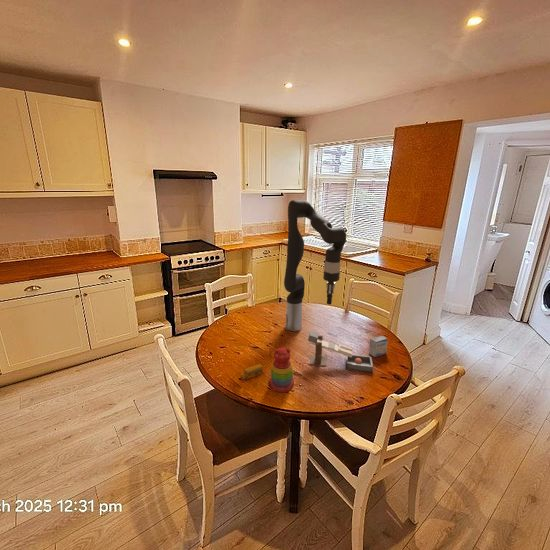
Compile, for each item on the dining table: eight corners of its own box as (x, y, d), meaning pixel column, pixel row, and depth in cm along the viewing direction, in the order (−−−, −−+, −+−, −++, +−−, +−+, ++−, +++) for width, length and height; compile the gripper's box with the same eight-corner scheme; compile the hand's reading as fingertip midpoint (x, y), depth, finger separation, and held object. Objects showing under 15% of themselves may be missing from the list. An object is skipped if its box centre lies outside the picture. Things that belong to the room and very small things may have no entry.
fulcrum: (309, 364, 143) (310, 342, 140) (310, 355, 151) (311, 334, 147) (326, 366, 141) (327, 343, 138) (327, 357, 149) (328, 335, 146)
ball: (360, 367, 140) (354, 365, 141) (360, 363, 143) (353, 361, 144) (362, 361, 139) (356, 359, 140) (362, 357, 142) (355, 355, 143)
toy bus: (240, 377, 134) (240, 370, 133) (259, 370, 139) (259, 363, 138) (243, 381, 131) (243, 373, 130) (262, 373, 137) (262, 366, 135)
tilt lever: (307, 342, 141) (309, 335, 140) (308, 337, 147) (310, 330, 145) (351, 357, 139) (354, 350, 137) (351, 351, 144) (353, 344, 143)
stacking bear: (293, 377, 133) (293, 342, 128) (295, 392, 124) (296, 354, 119) (269, 378, 133) (268, 342, 128) (269, 393, 123) (269, 355, 118)
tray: (345, 369, 139) (346, 363, 138) (345, 359, 148) (345, 353, 147) (372, 372, 137) (373, 366, 136) (370, 361, 145) (371, 356, 144)
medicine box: (374, 357, 149) (376, 342, 146) (368, 353, 153) (369, 338, 150) (386, 353, 152) (388, 338, 150) (379, 349, 156) (381, 334, 154)
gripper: (325, 265, 149) (322, 298, 154) (322, 273, 136) (320, 308, 142) (340, 267, 147) (337, 299, 152) (339, 275, 135) (336, 310, 140)
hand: (329, 303), depth 147 cm, fingers closed
